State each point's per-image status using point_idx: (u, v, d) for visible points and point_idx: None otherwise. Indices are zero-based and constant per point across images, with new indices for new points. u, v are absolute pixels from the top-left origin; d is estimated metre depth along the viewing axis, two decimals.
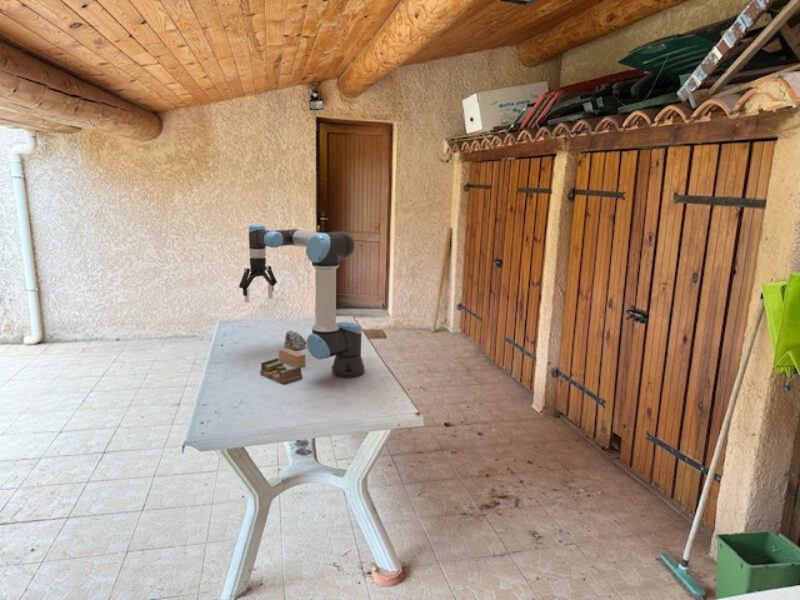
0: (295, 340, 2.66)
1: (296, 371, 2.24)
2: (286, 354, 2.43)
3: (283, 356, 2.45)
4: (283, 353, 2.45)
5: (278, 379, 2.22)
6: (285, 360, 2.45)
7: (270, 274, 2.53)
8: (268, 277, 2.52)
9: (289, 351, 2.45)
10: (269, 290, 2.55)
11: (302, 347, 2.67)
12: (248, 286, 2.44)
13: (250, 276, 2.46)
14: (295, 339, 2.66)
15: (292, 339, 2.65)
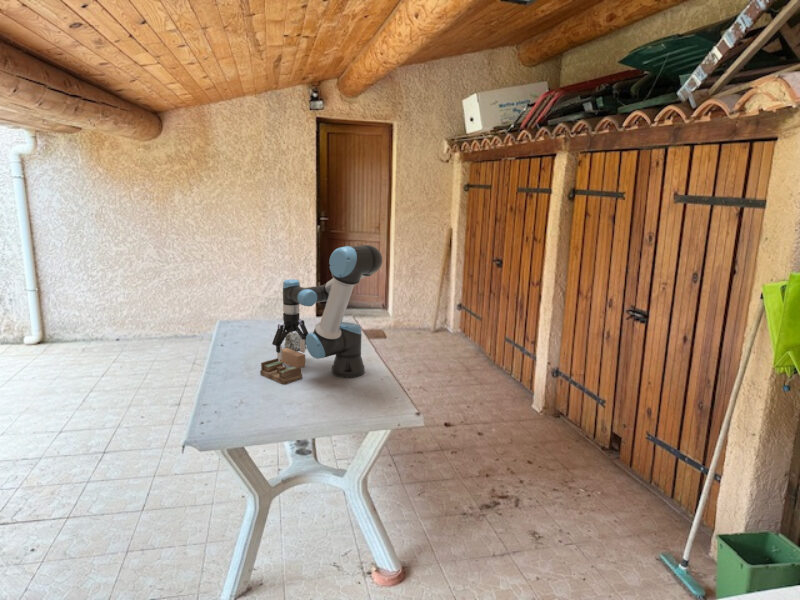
0: (295, 341, 2.65)
1: (296, 371, 2.24)
2: (286, 354, 2.43)
3: (283, 356, 2.45)
4: (283, 353, 2.45)
5: (278, 379, 2.22)
6: (285, 360, 2.45)
7: (303, 328, 2.47)
8: (301, 332, 2.45)
9: (289, 351, 2.45)
10: (301, 344, 2.49)
11: None
12: (281, 343, 2.37)
13: (283, 332, 2.39)
14: (296, 339, 2.65)
15: (292, 340, 2.64)
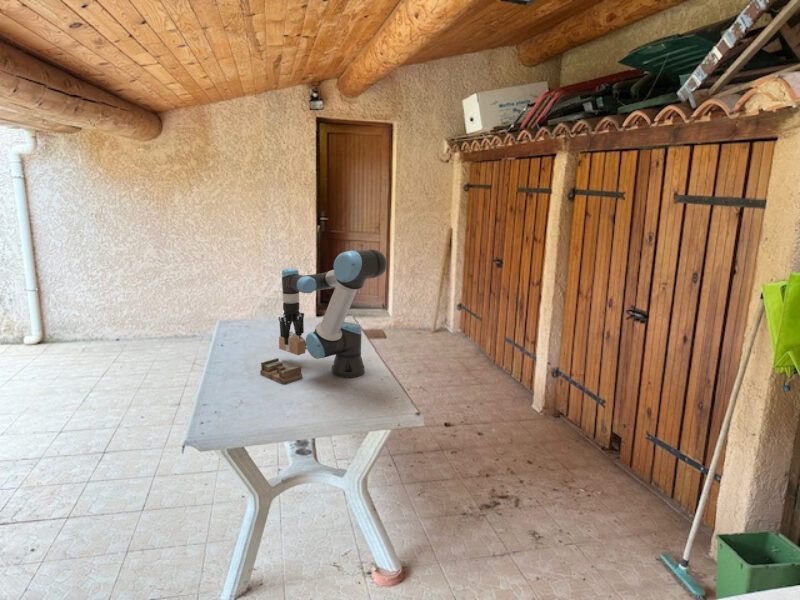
0: None
1: (296, 371, 2.24)
2: None
3: (283, 343, 2.44)
4: (282, 340, 2.44)
5: (278, 379, 2.22)
6: (285, 347, 2.43)
7: (300, 322, 2.44)
8: (298, 325, 2.42)
9: None
10: None
11: None
12: None
13: (286, 323, 2.39)
14: None
15: None
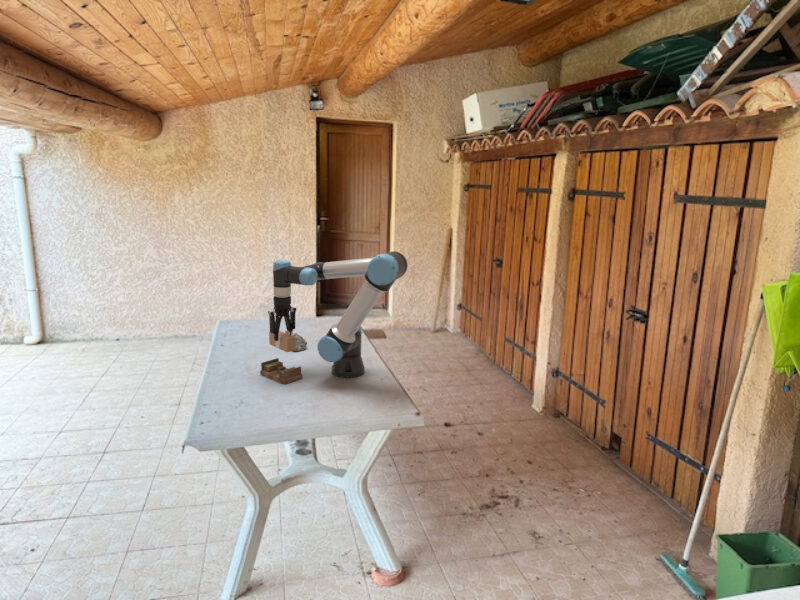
0: (296, 341, 2.64)
1: (296, 371, 2.24)
2: None
3: (273, 338, 2.31)
4: (273, 335, 2.30)
5: (278, 379, 2.22)
6: (275, 343, 2.30)
7: (292, 317, 2.30)
8: (289, 320, 2.29)
9: (280, 333, 2.30)
10: None
11: (303, 348, 2.65)
12: None
13: (277, 318, 2.25)
14: (296, 340, 2.64)
15: None
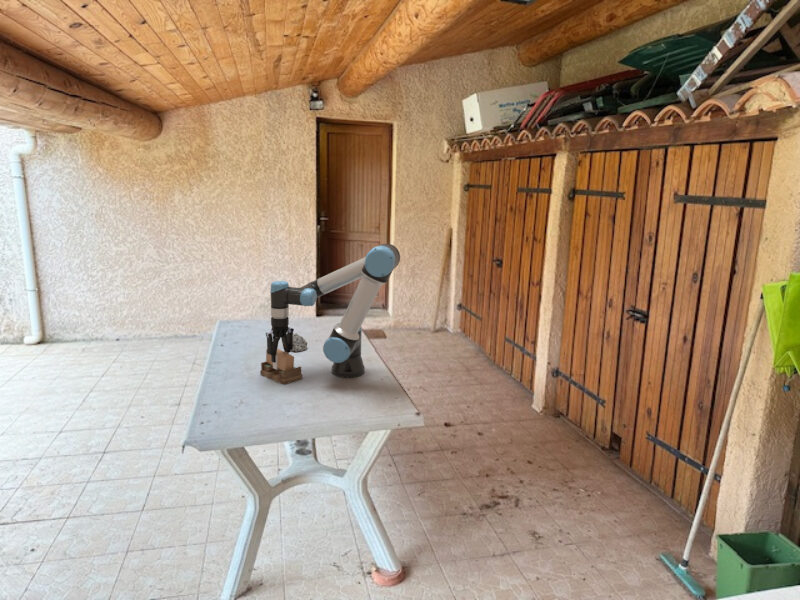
0: (297, 341, 2.63)
1: (296, 371, 2.24)
2: None
3: (270, 357, 2.28)
4: None
5: (278, 379, 2.22)
6: None
7: (289, 337, 2.28)
8: (286, 341, 2.27)
9: (277, 351, 2.27)
10: None
11: (304, 348, 2.65)
12: (276, 351, 2.23)
13: (274, 340, 2.23)
14: (297, 340, 2.64)
15: (294, 341, 2.63)
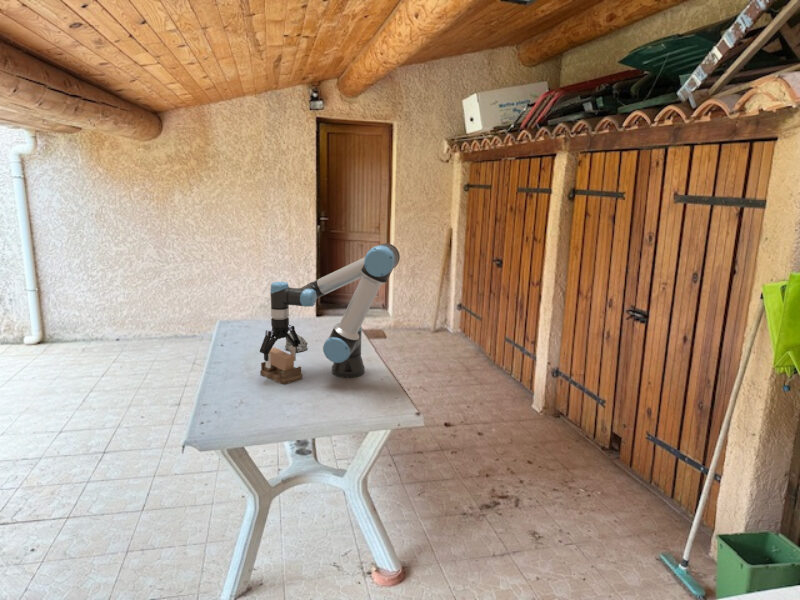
0: None
1: (296, 371, 2.24)
2: (274, 355, 2.26)
3: None
4: (270, 353, 2.27)
5: (278, 379, 2.22)
6: (272, 361, 2.27)
7: (293, 334, 2.29)
8: (291, 338, 2.28)
9: (277, 351, 2.27)
10: (292, 352, 2.31)
11: (304, 348, 2.64)
12: None
13: (272, 339, 2.22)
14: None
15: None
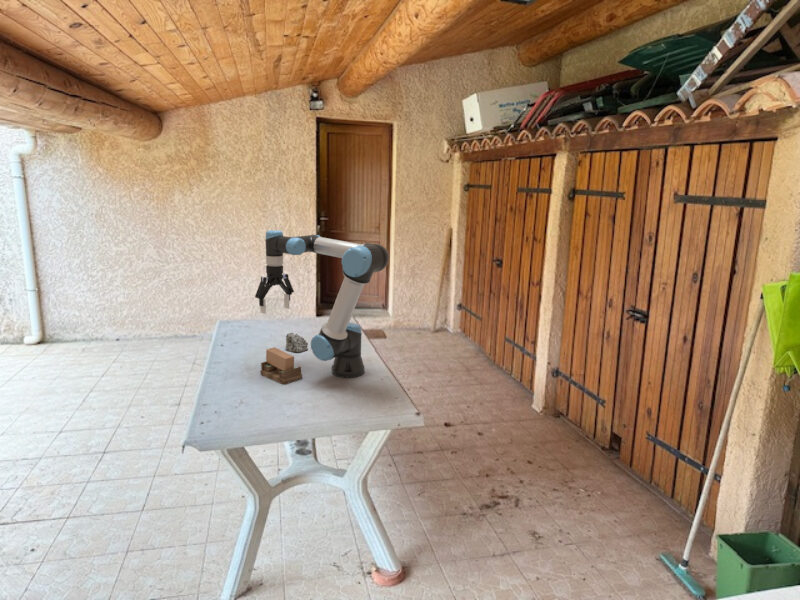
0: (297, 342, 2.62)
1: (296, 371, 2.24)
2: (274, 355, 2.26)
3: (270, 357, 2.28)
4: (270, 353, 2.27)
5: (278, 379, 2.22)
6: (272, 361, 2.27)
7: (287, 283, 2.39)
8: (285, 286, 2.37)
9: (277, 351, 2.27)
10: (285, 299, 2.41)
11: (304, 349, 2.64)
12: None
13: (267, 285, 2.30)
14: (298, 341, 2.63)
15: (294, 341, 2.62)
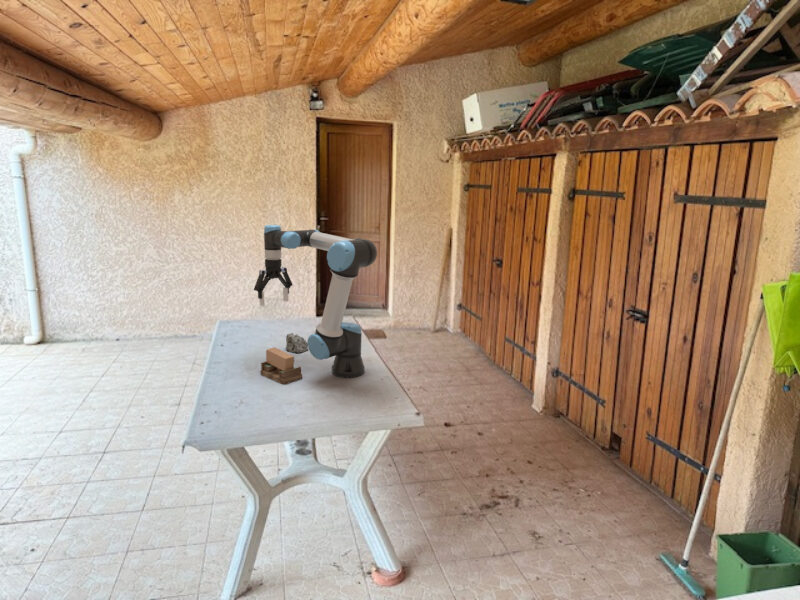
0: (298, 342, 2.62)
1: (296, 371, 2.24)
2: (274, 355, 2.26)
3: (270, 357, 2.28)
4: (270, 353, 2.27)
5: (278, 379, 2.22)
6: (272, 361, 2.27)
7: (285, 276, 2.45)
8: (283, 279, 2.43)
9: (277, 351, 2.27)
10: (284, 293, 2.47)
11: (305, 349, 2.63)
12: (263, 289, 2.35)
13: (265, 278, 2.37)
14: (298, 341, 2.62)
15: (295, 342, 2.61)
